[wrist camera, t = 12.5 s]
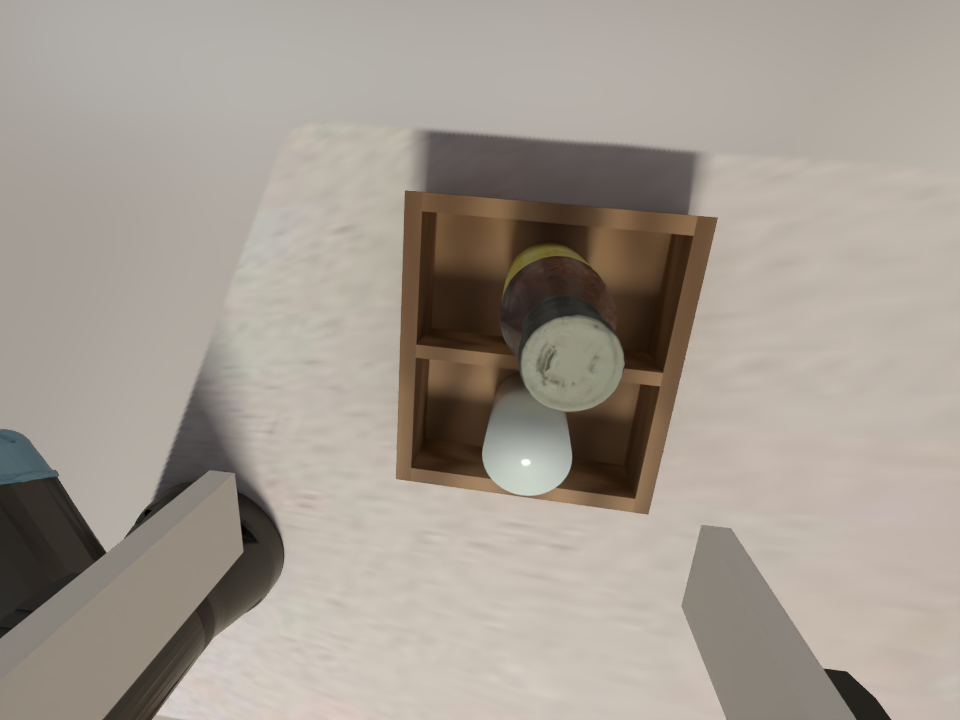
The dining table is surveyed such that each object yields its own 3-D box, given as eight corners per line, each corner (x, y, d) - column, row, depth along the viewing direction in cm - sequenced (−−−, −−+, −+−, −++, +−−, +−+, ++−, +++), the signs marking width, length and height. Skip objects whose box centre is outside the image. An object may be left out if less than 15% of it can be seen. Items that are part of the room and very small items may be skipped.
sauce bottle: (490, 280, 37) (443, 351, 18) (549, 222, 35) (565, 234, 16) (547, 339, 38) (557, 464, 19) (607, 285, 36) (685, 365, 17)
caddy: (414, 443, 43) (395, 478, 38) (425, 193, 36) (405, 190, 31) (632, 473, 41) (648, 514, 36) (688, 216, 35) (717, 217, 29)
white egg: (490, 431, 41) (478, 489, 32) (497, 367, 39) (486, 410, 30) (559, 440, 40) (565, 501, 32) (569, 375, 38) (578, 422, 30)
